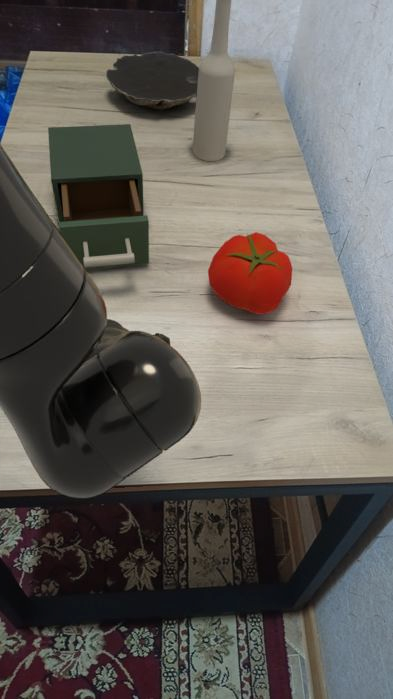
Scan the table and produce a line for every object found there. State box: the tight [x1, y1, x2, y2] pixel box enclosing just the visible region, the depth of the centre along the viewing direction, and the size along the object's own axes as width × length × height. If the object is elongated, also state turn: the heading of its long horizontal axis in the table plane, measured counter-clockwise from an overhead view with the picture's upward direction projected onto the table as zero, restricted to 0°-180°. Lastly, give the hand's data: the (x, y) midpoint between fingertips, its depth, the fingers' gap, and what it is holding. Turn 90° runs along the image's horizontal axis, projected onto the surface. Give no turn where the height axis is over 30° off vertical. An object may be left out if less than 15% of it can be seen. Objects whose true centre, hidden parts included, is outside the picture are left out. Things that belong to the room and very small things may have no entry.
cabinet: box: [47, 123, 144, 223], centre depth 82 cm, size 15×14×10 cm
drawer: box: [58, 179, 150, 270], centre depth 74 cm, size 18×12×8 cm
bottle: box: [192, 0, 236, 162], centre depth 87 cm, size 7×7×28 cm
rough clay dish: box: [105, 51, 199, 112], centre depth 108 cm, size 22×22×5 cm
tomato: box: [207, 231, 293, 315], centre depth 72 cm, size 13×12×8 cm
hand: (105, 345), depth 61 cm, fingers open, 7 cm apart
